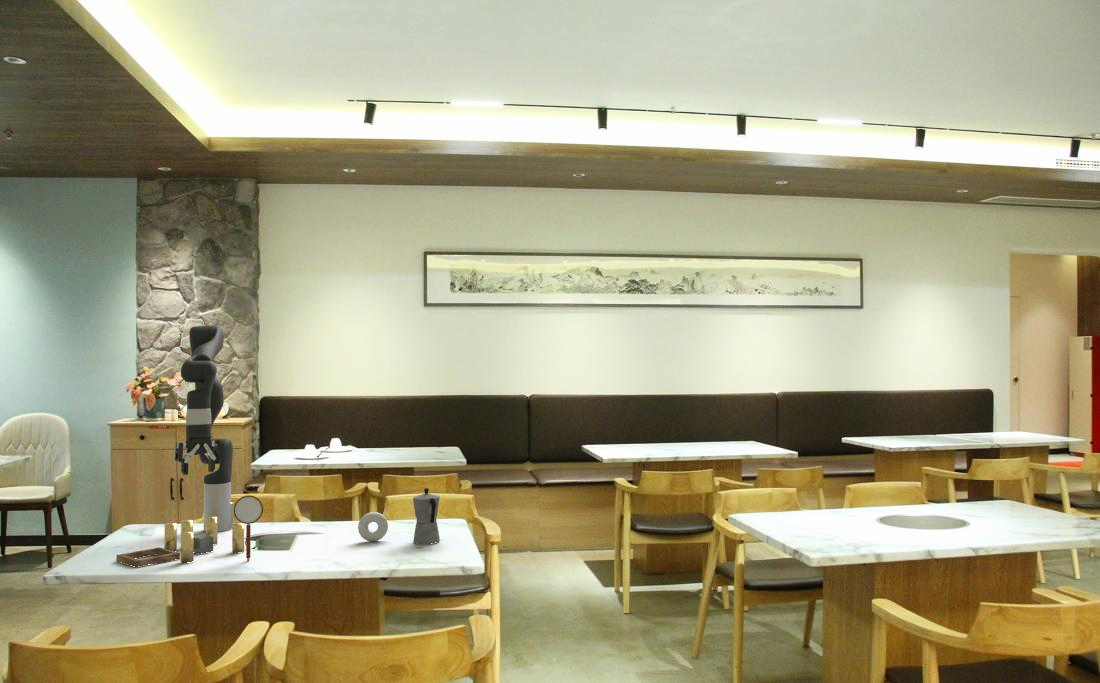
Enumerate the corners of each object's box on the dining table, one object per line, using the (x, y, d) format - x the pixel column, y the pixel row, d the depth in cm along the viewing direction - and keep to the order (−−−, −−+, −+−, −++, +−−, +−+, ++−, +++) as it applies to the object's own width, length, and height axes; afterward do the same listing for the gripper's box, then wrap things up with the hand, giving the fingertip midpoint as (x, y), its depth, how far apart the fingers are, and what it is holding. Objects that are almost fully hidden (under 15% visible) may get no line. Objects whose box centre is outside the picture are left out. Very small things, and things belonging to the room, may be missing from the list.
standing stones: (212, 542, 277) (212, 515, 277) (249, 551, 263) (249, 523, 263) (148, 554, 260) (148, 525, 260) (184, 564, 246) (184, 534, 246)
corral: (159, 553, 260) (159, 547, 260) (179, 559, 252) (180, 552, 252) (116, 561, 250) (116, 554, 250) (136, 567, 242) (136, 561, 242)
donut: (357, 543, 273) (357, 513, 273) (357, 541, 276) (357, 511, 277) (388, 541, 275) (388, 512, 276) (388, 539, 279) (387, 510, 279)
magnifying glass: (263, 559, 251) (263, 494, 251) (262, 561, 249) (262, 495, 250) (234, 561, 249) (234, 495, 250) (232, 562, 248) (233, 496, 248)
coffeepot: (407, 539, 279) (407, 486, 279) (434, 536, 283) (433, 484, 283) (420, 548, 265) (420, 492, 265) (448, 545, 269) (448, 490, 269)
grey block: (205, 550, 265) (205, 534, 265) (213, 552, 262) (213, 536, 262) (192, 552, 261) (192, 537, 262) (199, 554, 259) (199, 538, 259)
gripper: (213, 421, 270) (213, 470, 269) (171, 423, 259) (170, 474, 258) (225, 421, 265) (225, 471, 265) (183, 424, 254) (182, 476, 254)
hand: (198, 473), depth 261 cm, fingers open, 8 cm apart
